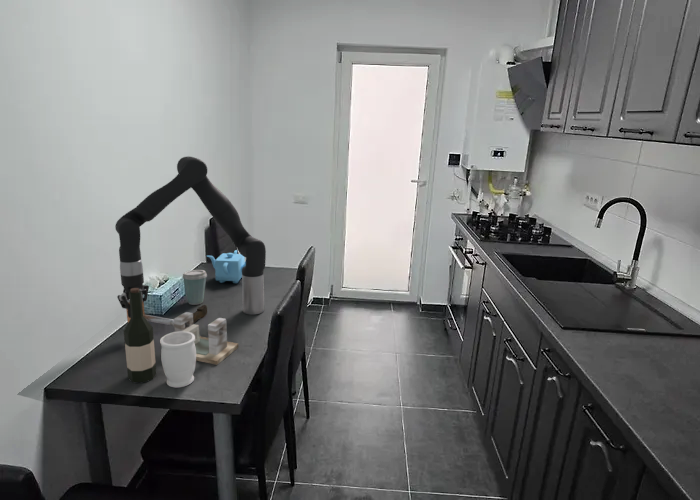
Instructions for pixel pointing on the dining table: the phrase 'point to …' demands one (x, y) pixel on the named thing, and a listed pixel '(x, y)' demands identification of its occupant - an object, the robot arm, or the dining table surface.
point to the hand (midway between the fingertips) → (135, 315)
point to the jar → (178, 358)
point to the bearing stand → (209, 339)
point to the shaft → (155, 318)
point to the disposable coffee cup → (195, 286)
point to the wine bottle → (139, 342)
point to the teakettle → (228, 267)
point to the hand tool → (200, 313)
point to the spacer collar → (194, 332)
